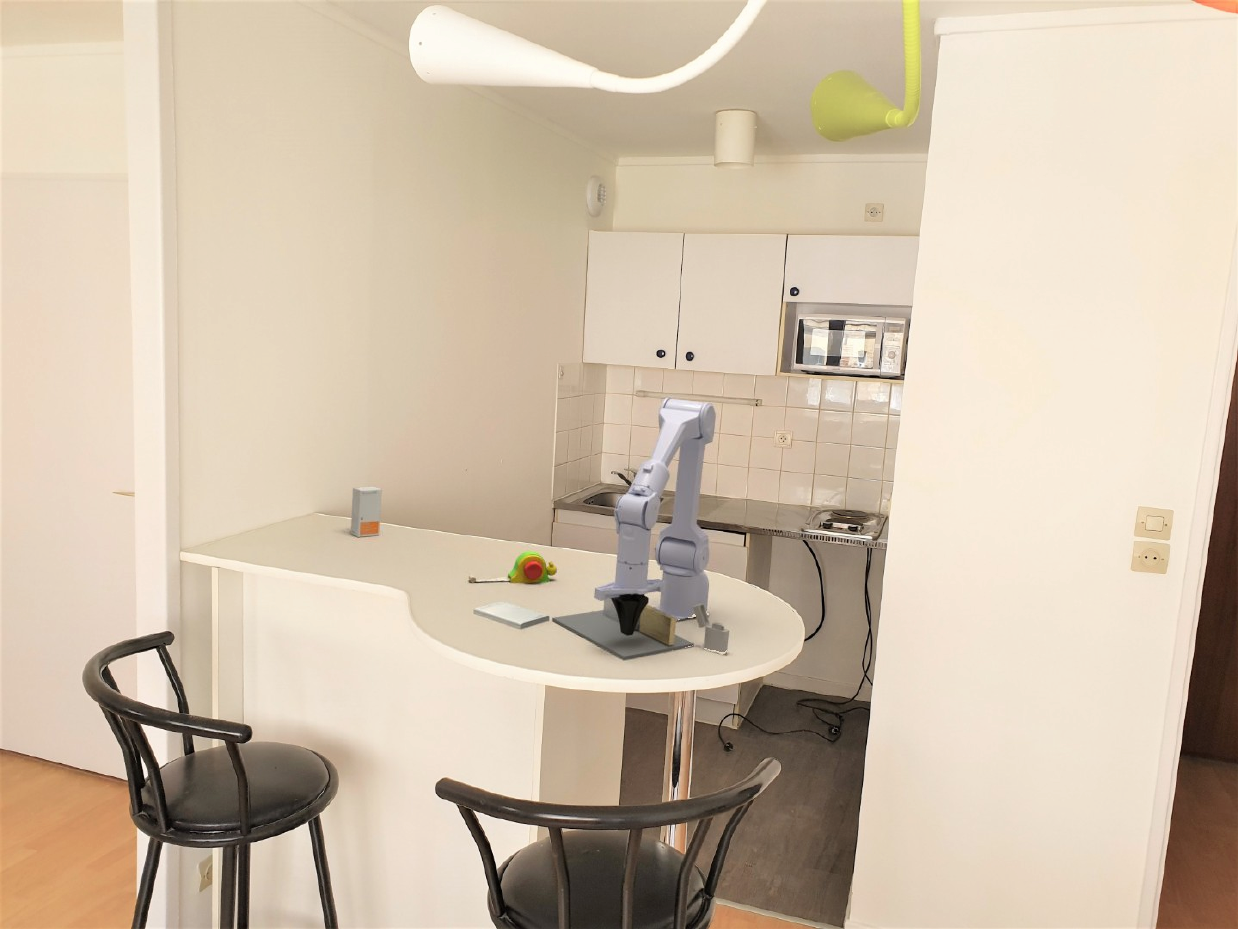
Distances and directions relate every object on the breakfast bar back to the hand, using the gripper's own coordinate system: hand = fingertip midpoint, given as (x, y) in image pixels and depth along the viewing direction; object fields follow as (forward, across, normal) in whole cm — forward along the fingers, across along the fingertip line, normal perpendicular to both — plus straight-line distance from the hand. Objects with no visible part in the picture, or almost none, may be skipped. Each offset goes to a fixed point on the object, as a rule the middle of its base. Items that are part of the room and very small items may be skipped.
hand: (626, 633), depth 169 cm
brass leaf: (+1, +6, 0) cm, 6 cm away
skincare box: (+2, -12, +94) cm, 94 cm away
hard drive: (+3, -11, +22) cm, 25 cm away
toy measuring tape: (+2, +2, +44) cm, 44 cm away
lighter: (+2, +13, -8) cm, 15 cm away
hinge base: (+2, +3, +6) cm, 7 cm away
